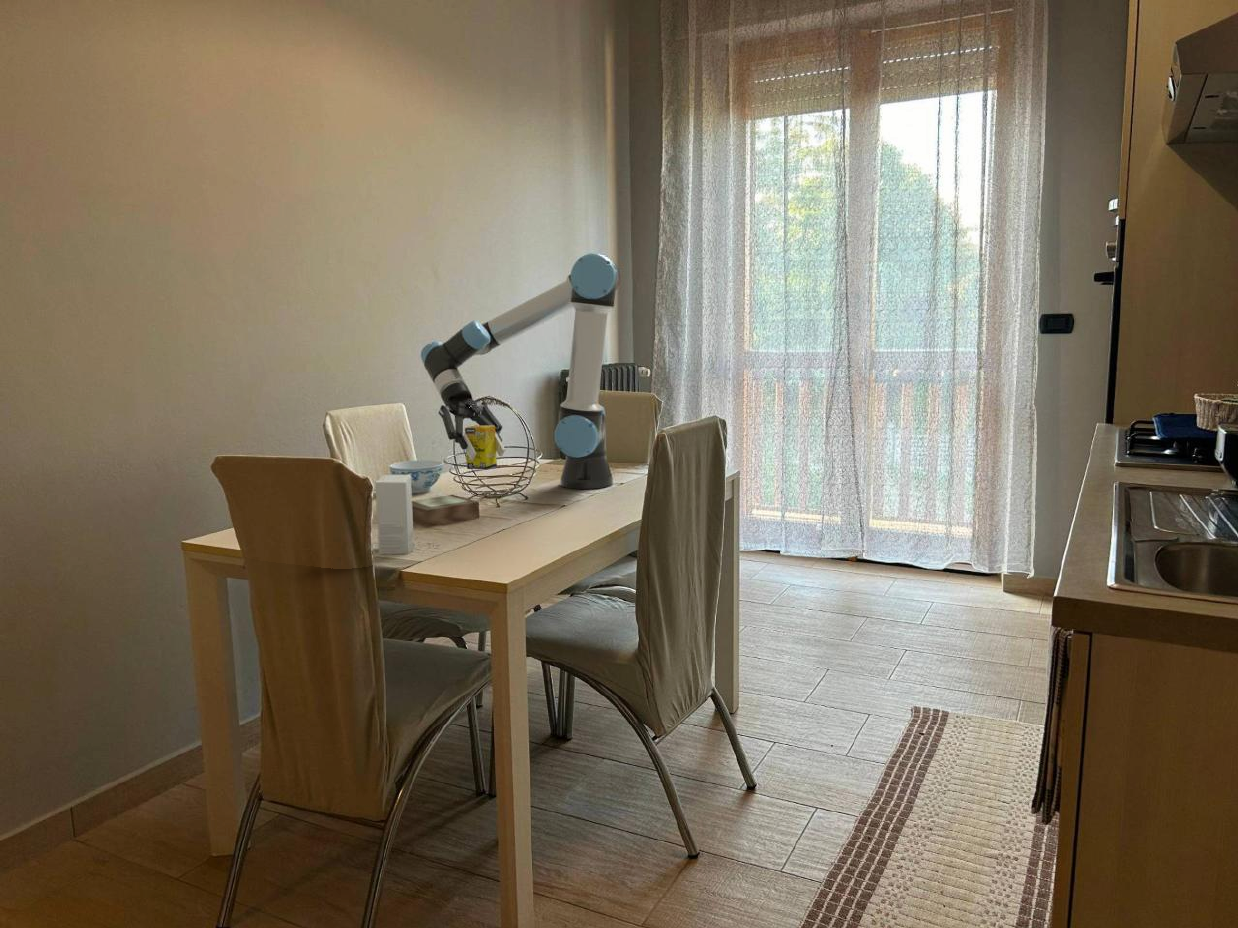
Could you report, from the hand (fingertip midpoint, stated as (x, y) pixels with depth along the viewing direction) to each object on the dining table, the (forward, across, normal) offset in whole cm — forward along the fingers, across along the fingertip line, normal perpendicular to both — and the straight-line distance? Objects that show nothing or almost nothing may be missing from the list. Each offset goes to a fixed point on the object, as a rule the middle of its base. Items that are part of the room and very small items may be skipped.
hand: (488, 454), depth 238 cm
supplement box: (0, 0, -5) cm, 5 cm away
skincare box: (+28, +39, +9) cm, 49 cm away
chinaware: (-14, +4, -33) cm, 36 cm away
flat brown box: (+13, +17, -6) cm, 22 cm away
